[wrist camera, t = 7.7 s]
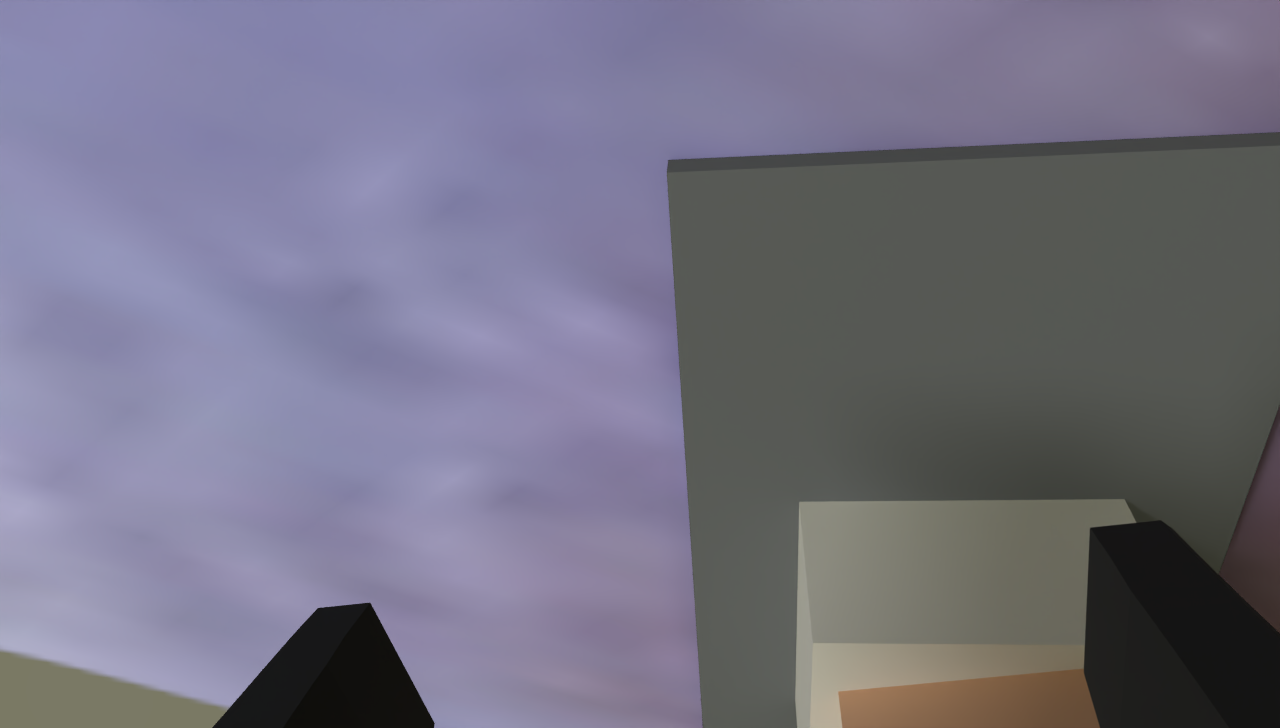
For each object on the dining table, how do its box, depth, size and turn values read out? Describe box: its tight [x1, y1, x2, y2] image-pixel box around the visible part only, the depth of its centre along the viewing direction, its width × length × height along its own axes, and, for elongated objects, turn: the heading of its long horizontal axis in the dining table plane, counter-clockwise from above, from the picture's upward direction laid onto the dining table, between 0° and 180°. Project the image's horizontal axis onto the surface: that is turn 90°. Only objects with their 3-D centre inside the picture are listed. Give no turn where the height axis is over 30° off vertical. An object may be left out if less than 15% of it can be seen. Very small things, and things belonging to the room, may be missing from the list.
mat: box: [667, 132, 1280, 728], centre depth 22 cm, size 12×18×1 cm, turn 4°
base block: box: [795, 499, 1136, 728], centre depth 22 cm, size 7×7×4 cm
